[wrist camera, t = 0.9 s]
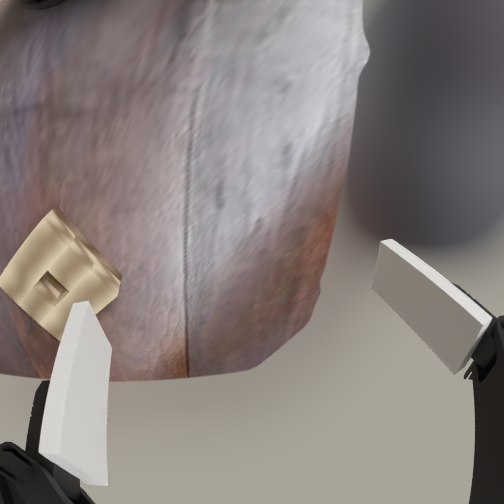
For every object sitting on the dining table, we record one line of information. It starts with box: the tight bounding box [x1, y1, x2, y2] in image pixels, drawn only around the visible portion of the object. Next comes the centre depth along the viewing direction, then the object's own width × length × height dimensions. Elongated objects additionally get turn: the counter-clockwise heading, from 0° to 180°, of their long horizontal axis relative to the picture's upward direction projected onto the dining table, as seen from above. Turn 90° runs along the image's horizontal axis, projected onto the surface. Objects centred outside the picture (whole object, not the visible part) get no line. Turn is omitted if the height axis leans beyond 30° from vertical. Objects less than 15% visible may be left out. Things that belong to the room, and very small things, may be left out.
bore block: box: [0, 206, 122, 342], centre depth 37 cm, size 16×16×6 cm
